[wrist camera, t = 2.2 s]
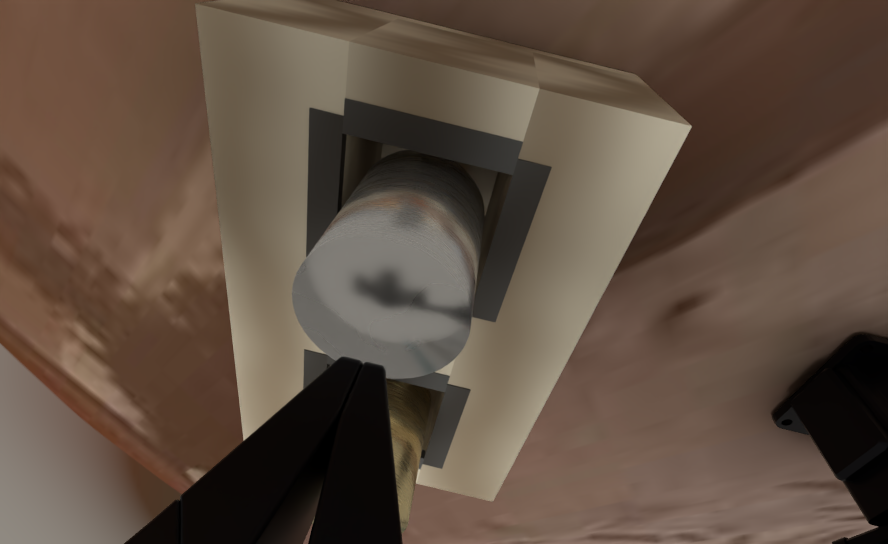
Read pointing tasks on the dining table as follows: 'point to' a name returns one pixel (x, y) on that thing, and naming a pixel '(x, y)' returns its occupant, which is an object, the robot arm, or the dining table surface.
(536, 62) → the collar block
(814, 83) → the dining table surface
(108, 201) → the dining table surface
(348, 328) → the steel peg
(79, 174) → the dining table surface
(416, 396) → the brass peg
